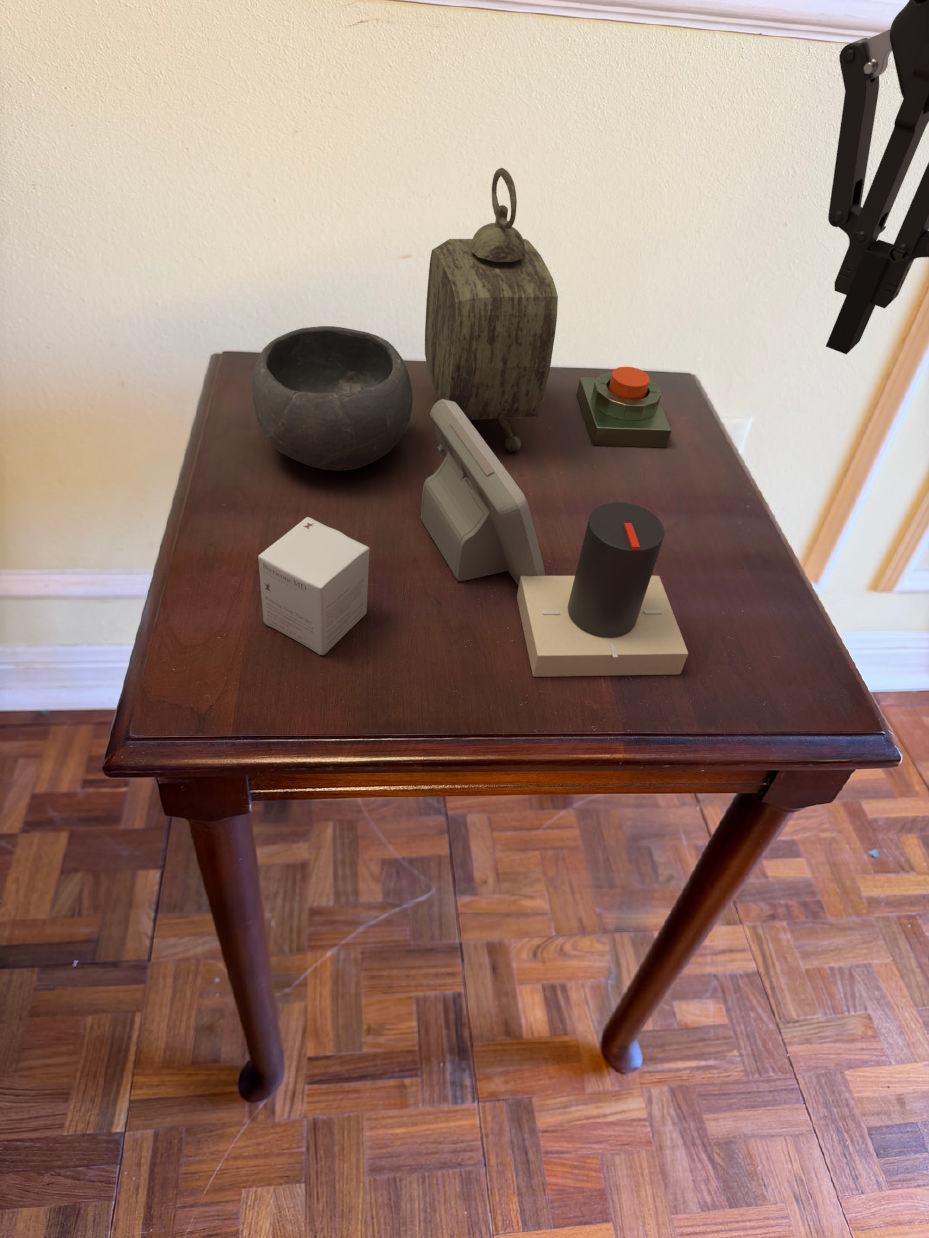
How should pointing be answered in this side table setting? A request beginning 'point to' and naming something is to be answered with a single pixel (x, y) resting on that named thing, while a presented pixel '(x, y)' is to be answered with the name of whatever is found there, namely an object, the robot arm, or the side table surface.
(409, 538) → the side table surface
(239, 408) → the side table surface
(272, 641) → the side table surface
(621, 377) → the push button
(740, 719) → the side table surface
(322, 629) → the product box
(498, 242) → the tabletop clock
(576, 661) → the dial panel
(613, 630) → the dial
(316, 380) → the bowl
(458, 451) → the digital clock
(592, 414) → the button block
